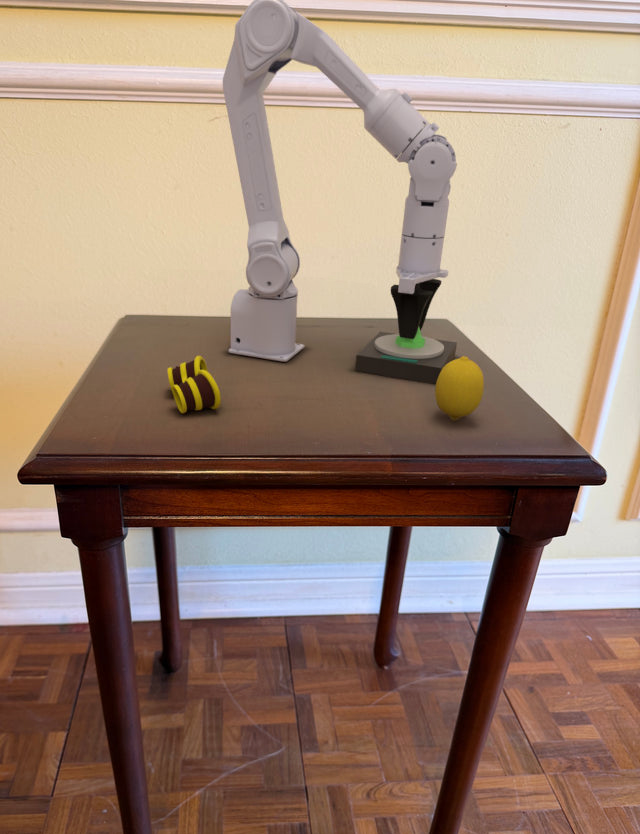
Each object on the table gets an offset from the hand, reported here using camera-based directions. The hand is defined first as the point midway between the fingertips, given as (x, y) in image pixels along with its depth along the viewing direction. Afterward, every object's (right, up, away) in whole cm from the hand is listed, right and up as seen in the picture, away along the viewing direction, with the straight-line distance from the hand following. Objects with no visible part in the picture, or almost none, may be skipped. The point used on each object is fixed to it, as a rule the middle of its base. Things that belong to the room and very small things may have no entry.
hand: (410, 333), depth 99 cm
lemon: (+2, -14, -16) cm, 21 cm away
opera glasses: (-30, -12, -13) cm, 35 cm away
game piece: (0, -1, +1) cm, 2 cm away
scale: (-1, -4, +1) cm, 5 cm away
